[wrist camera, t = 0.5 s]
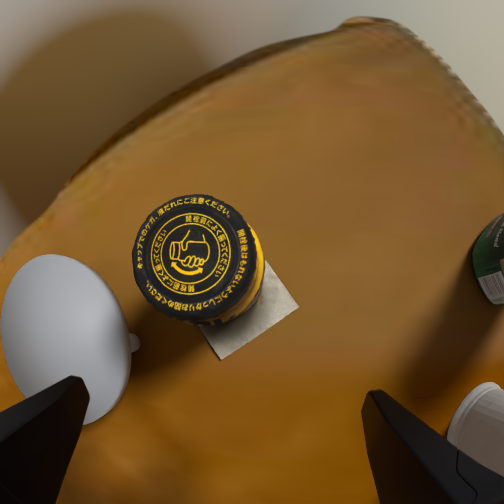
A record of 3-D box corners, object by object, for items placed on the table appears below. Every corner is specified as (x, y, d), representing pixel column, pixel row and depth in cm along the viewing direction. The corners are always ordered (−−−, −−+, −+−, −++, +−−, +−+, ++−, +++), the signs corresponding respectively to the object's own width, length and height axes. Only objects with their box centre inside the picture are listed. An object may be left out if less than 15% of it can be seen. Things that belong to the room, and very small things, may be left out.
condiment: (237, 220, 24) (215, 145, 12) (298, 307, 22) (338, 311, 11) (163, 271, 23) (82, 241, 11) (221, 359, 22) (183, 412, 10)
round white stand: (93, 435, 21) (69, 452, 16) (14, 329, 23) (-15, 330, 18) (179, 343, 22) (160, 352, 18) (79, 231, 24) (51, 219, 20)
